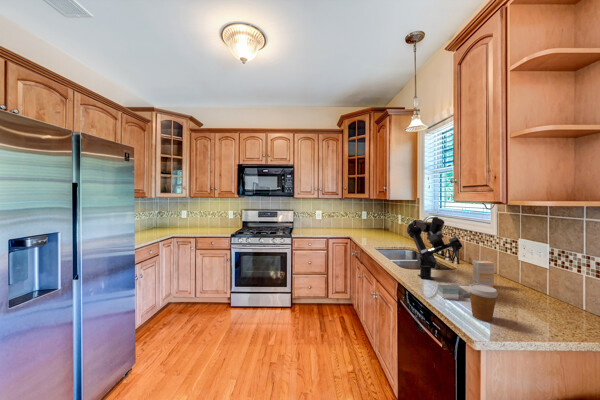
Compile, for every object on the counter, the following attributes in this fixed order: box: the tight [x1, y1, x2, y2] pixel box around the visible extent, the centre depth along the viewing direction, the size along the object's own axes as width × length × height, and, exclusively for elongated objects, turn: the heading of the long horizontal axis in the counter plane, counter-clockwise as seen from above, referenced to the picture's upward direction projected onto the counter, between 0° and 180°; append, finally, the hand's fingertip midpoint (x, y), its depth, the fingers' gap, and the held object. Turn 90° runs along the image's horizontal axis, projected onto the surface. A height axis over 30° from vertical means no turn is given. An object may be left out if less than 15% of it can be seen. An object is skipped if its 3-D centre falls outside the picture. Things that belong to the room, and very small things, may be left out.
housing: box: [437, 284, 460, 301], centre depth 114 cm, size 5×7×5 cm
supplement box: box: [472, 260, 495, 288], centre depth 129 cm, size 8×5×13 cm, turn 84°
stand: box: [450, 283, 470, 298], centre depth 120 cm, size 13×13×2 cm
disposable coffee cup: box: [468, 283, 499, 322], centre depth 95 cm, size 10×10×12 cm
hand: (447, 261), depth 115 cm, fingers open, 9 cm apart
